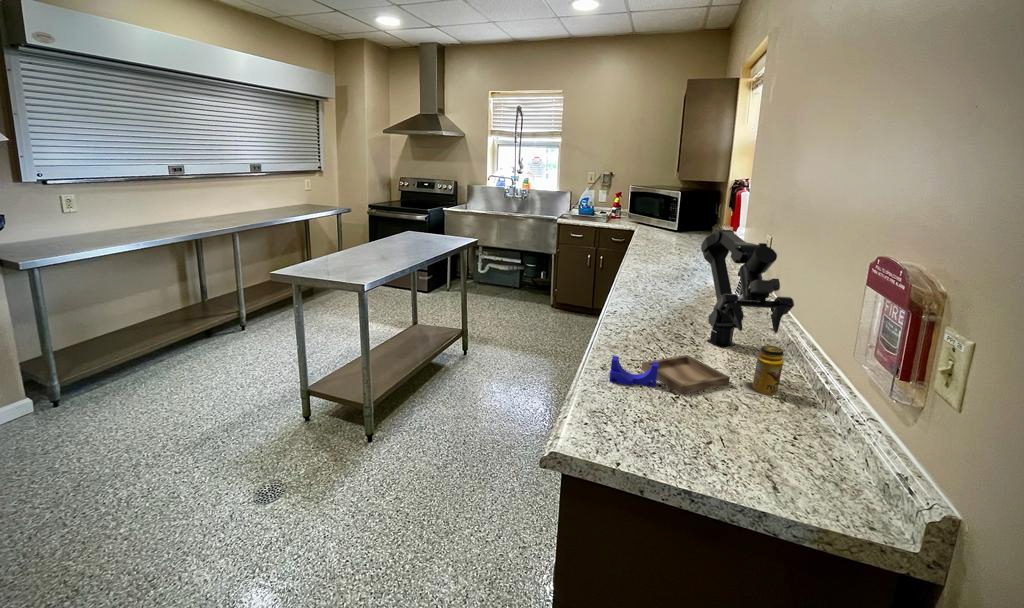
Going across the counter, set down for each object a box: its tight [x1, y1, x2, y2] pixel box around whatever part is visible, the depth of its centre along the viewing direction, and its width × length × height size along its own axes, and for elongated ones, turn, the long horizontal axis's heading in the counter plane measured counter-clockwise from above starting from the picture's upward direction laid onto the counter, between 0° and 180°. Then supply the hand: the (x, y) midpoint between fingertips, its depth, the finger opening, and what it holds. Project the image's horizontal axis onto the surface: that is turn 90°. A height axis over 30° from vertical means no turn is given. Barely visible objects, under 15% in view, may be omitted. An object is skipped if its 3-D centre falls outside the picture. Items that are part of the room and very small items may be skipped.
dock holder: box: [641, 354, 731, 395], centre depth 139 cm, size 16×16×2 cm
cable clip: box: [608, 355, 658, 388], centre depth 135 cm, size 12×4×6 cm, turn 72°
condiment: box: [741, 344, 784, 399], centre depth 131 cm, size 7×8×12 cm
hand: (758, 331), depth 137 cm, fingers open, 9 cm apart
